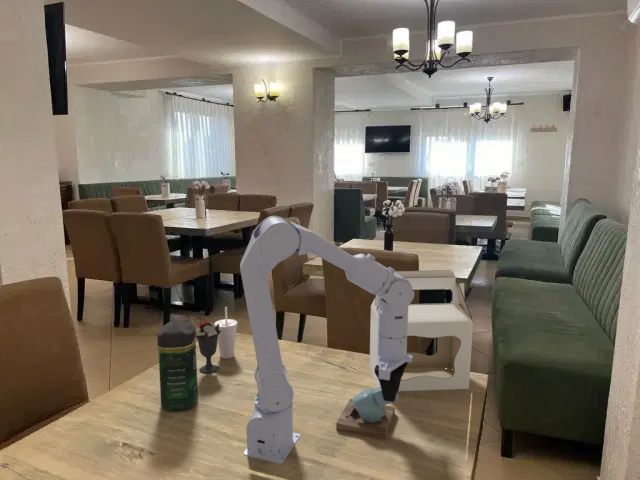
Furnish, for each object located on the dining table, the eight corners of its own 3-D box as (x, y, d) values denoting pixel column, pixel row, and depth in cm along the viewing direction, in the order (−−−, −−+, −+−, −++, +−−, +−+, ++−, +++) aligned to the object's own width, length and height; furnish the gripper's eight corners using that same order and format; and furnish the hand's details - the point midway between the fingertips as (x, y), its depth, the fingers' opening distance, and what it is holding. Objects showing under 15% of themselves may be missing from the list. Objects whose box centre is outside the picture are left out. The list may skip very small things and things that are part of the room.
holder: (384, 442, 90) (385, 432, 90) (336, 431, 94) (336, 422, 93) (394, 415, 100) (394, 407, 99) (350, 407, 103) (350, 398, 103)
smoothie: (241, 351, 132) (239, 304, 130) (235, 361, 126) (233, 312, 124) (219, 350, 133) (217, 303, 130) (212, 360, 127) (210, 311, 124)
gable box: (378, 394, 109) (380, 279, 104) (368, 368, 122) (370, 265, 117) (470, 390, 110) (477, 277, 105) (451, 365, 123) (456, 263, 118)
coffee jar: (195, 411, 101) (191, 331, 98) (158, 414, 100) (152, 333, 97) (200, 389, 111) (197, 316, 107) (166, 392, 110) (161, 317, 106)
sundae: (190, 373, 119) (187, 317, 116) (204, 362, 125) (202, 309, 123) (213, 376, 117) (211, 320, 114) (226, 365, 123) (224, 311, 121)
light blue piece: (360, 427, 94) (348, 405, 94) (367, 414, 99) (355, 393, 99) (400, 413, 91) (387, 390, 91) (404, 400, 96) (393, 379, 96)
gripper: (406, 350, 83) (404, 419, 86) (418, 323, 97) (415, 384, 99) (368, 345, 86) (367, 412, 88) (385, 319, 99) (383, 378, 101)
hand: (390, 397), depth 94 cm, fingers closed on light blue piece, 2 cm apart
